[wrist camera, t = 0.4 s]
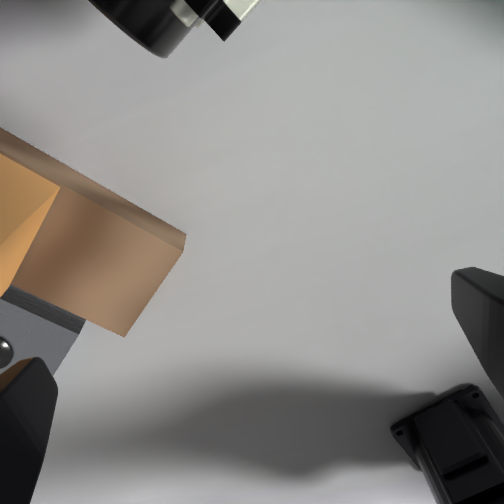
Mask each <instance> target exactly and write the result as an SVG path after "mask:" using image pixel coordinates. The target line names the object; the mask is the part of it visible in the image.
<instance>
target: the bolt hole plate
mask: <svg viewBox="0 0 504 504" xmlns="http://www.w3.org/2000/svg"><path fill="white" fill-rule="evenodd" d="M85 321H86V319H84V318H82V317H80V316H78V315H75V314H73V313H71V312H69V311H67V310H65V309H63V308H60V307H58V306H56V305H54V304H52V303H50V302H48V301H45V300H43V299H41V298H39V297H37V296H35V295H33V294H31V293H28V292H26V291H24V290H22V289H20V288H18V287H16V286H13V285H11V284H10V286H9V287H8V289H7V290H6V291H5V292H4V294H3V295H2V296H1V297H0V374H1V373H3V372H4V371H6V370H7V369H8V368H10V367H11V366H12V365H14V364H15V363H17V362H18V361H20V360H22V359H27V358H32V357H40V358H42V359H43V360H44V362H45V363H46V365H47V367H48V369H49V371H50V372H51V374H52V376H53V375H54V373H55V372H56V370H57V369H58V367H59V365H60V364H61V362H62V361H63V359H64V358H65V356H66V354H67V353H68V351H69V350H70V348H71V346H72V345H73V343H74V342H75V340H76V339H77V337H78V335H79V334H80V331H81V329H82V327H83V325H84V323H85Z"/></svg>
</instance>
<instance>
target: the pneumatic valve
mask: <svg viewBox="0 0 504 504" xmlns="http://www.w3.org/2000/svg"><path fill="white" fill-rule="evenodd" d="M88 1H89V2H91V3H92V4H93V5H94V6H95V7H96V8H97V9H98V10H99V11H100V12H101V13H103V14H104V15H105V16H106V17H107V18H108V19H109V20H110V21H111V22H113V23H114V24H115V25H116V26H117V27H118V28H120V29H121V30H122V31H123V32H124V33H126V34H127V35H128V36H129V37H131V38H132V39H133V40H134V41H136V42H137V43H138V44H139V45H141V46H142V47H144V48H145V49H146V50H148V51H149V52H151V53H152V54H154V55H156V56H158V57H160V58H167V57H168V56H169V55H170V54H171V53H172V52H173V50H174V49H175V48H176V47H177V46H178V45H179V43H180V42H181V41H182V40H183V39H184V38H185V36H186V35H187V34H188V33H189V32H190V31H191V29H192V28H193V27H194V26H196V27H197V28H198V27H200V25H201V24H202V23H203V22H204V21H206V23H207V24H208V25H209V26H210V27H211V28H212V29H213V30H214V31H215V32H216V33H217V35H218V36H219V37H220V38H221V39H222V40H223V41H224V42H225V40H226V39H227V38H228V37H229V36H230V35H231V34H232V33H233V31H234V30H235V29H236V28H237V27H238V26H239V25H240V24H241V22H242V21H243V20H244V19H245V18H246V17H247V16H248V15H249V13H250V12H251V11H252V10H253V9H254V8H255V7H256V6H257V5H258V3H259V2H260V1H261V0H88Z"/></svg>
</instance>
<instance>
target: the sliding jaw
mask: <svg viewBox="0 0 504 504" xmlns="http://www.w3.org/2000/svg"><path fill="white" fill-rule="evenodd" d="M59 189H60V187H59V186H58V185H56V184H54V183H52V182H50V181H49V180H47V179H45V178H43V177H41V176H40V175H38V174H36V173H34V172H32V171H31V170H29V169H27V168H25V167H23V166H22V165H20V164H18V163H16V162H14V161H13V160H11V159H9V158H7V157H5V156H4V155H2V154H0V297H1V296H2V295H3V294H4V292H5V291H6V290H7V289H8V287H9V286H10V284H11V282H12V280H13V278H14V276H15V274H16V272H17V270H18V268H19V266H20V264H21V262H22V261H23V259H24V257H25V255H26V253H27V251H28V249H29V247H30V245H31V243H32V241H33V239H34V237H35V235H36V234H37V232H38V230H39V228H40V226H41V224H42V222H43V220H44V218H45V216H46V214H47V212H48V210H49V208H50V207H51V205H52V203H53V201H54V199H55V197H56V195H57V193H58V191H59Z"/></svg>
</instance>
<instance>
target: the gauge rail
mask: <svg viewBox="0 0 504 504" xmlns="http://www.w3.org/2000/svg"><path fill="white" fill-rule="evenodd" d="M0 154H2V155H4V156H5V157H7V158H9V159H11V160H13V161H14V162H16V163H18V164H20V165H22V166H23V167H25V168H27V169H29V170H31V171H32V172H34V173H36V174H38V175H40V176H41V177H43V178H45V179H47V180H49V181H50V182H52V183H54V184H56V185H58V186H59V187H60V189H59V191H58V193H57V195H56V197H55V199H54V201H53V203H52V205H51V207H50V208H49V210H48V212H47V214H46V216H45V218H44V220H43V222H42V224H41V226H40V228H39V230H38V232H37V234H36V235H35V237H34V239H33V241H32V243H31V245H30V247H29V249H28V251H27V253H26V255H25V257H24V259H23V261H22V262H21V264H20V266H19V268H18V270H17V272H16V274H15V276H14V278H13V280H12V282H11V285H13V286H16V287H18V288H20V289H22V290H24V291H26V292H28V293H31V294H33V295H35V296H37V297H39V298H41V299H43V300H45V301H48V302H50V303H52V304H54V305H56V306H58V307H60V308H63V309H65V310H67V311H69V312H71V313H73V314H75V315H78V316H80V317H82V318H84V319H86V320H88V321H90V322H93V323H95V324H97V325H99V326H101V327H103V328H105V329H107V330H110V331H112V332H114V333H116V334H118V335H120V336H122V337H125V336H126V334H127V333H128V331H129V330H130V328H131V327H132V326H133V324H134V323H135V321H136V320H137V318H138V317H139V315H140V314H141V312H142V311H143V310H144V308H145V307H146V305H147V304H148V302H149V301H150V299H151V298H152V296H153V295H154V294H155V292H156V291H157V289H158V288H159V286H160V285H161V283H162V282H163V280H164V279H165V278H166V276H167V275H168V273H169V272H170V270H171V269H172V267H173V266H174V264H175V263H176V262H177V260H178V259H179V257H180V256H181V254H182V253H183V250H184V244H185V239H186V234H185V233H183V232H182V231H180V230H178V229H176V228H175V227H173V226H171V225H169V224H168V223H166V222H164V221H162V220H161V219H159V218H157V217H155V216H154V215H152V214H150V213H148V212H147V211H145V210H143V209H141V208H140V207H138V206H136V205H134V204H133V203H131V202H129V201H127V200H126V199H124V198H122V197H121V196H119V195H117V194H115V193H114V192H112V191H110V190H108V189H107V188H105V187H103V186H101V185H100V184H98V183H96V182H94V181H93V180H91V179H89V178H87V177H86V176H84V175H82V174H80V173H79V172H77V171H75V170H73V169H72V168H70V167H68V166H66V165H65V164H63V163H61V162H60V161H58V160H56V159H54V158H53V157H51V156H49V155H47V154H46V153H44V152H42V151H40V150H39V149H37V148H35V147H33V146H32V145H30V144H28V143H26V142H25V141H23V140H21V139H19V138H18V137H16V136H14V135H12V134H11V133H9V132H7V131H5V130H4V129H2V128H0Z"/></svg>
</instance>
